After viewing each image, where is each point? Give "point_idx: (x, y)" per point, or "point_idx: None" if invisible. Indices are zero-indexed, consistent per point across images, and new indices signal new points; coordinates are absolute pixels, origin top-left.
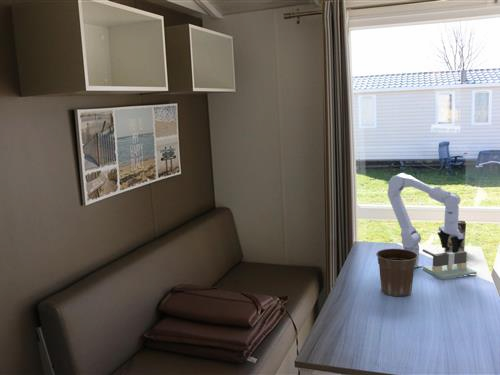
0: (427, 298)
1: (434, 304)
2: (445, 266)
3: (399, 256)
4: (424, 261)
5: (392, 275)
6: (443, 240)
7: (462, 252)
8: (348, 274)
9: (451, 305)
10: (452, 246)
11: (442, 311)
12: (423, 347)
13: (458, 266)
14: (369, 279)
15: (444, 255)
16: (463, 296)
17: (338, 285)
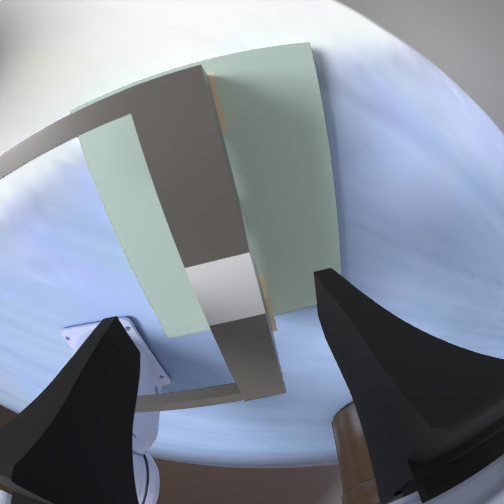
0: None
1: (470, 344)
2: (165, 220)
3: (361, 491)
4: (40, 277)
5: None
6: (118, 426)
7: (209, 131)
8: (224, 462)
9: (494, 311)
10: (351, 384)
11: (495, 334)
12: None
13: None
14: (268, 445)
15: (273, 343)
16: (485, 263)
17: (291, 467)
